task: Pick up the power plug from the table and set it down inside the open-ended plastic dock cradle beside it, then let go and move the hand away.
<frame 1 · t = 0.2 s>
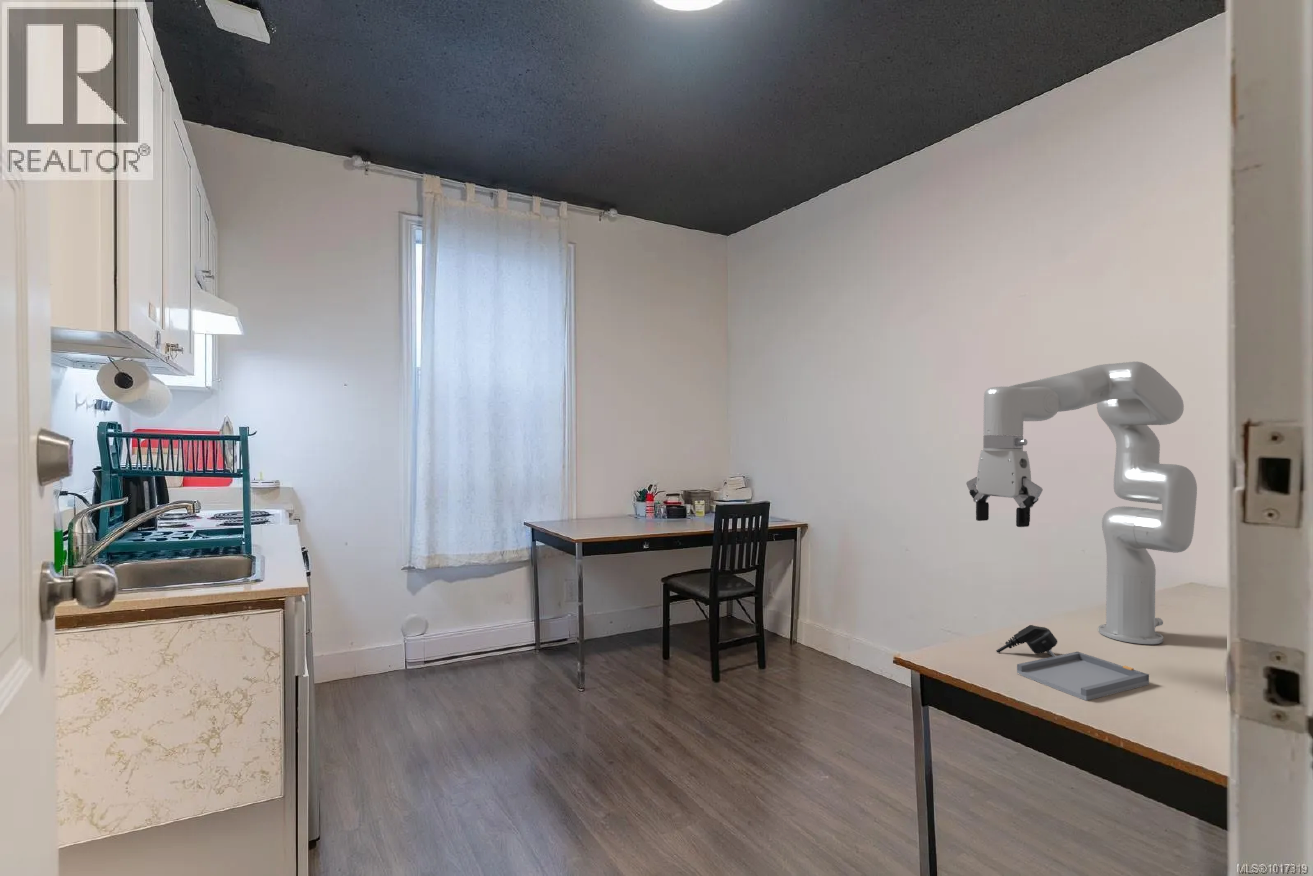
hand: (1001, 523, 135), 30 cm above the table, tool pointing down, fingers open, 9 cm apart
dock: (1081, 679, 126), on the table
power plug: (1025, 655, 140), on the table
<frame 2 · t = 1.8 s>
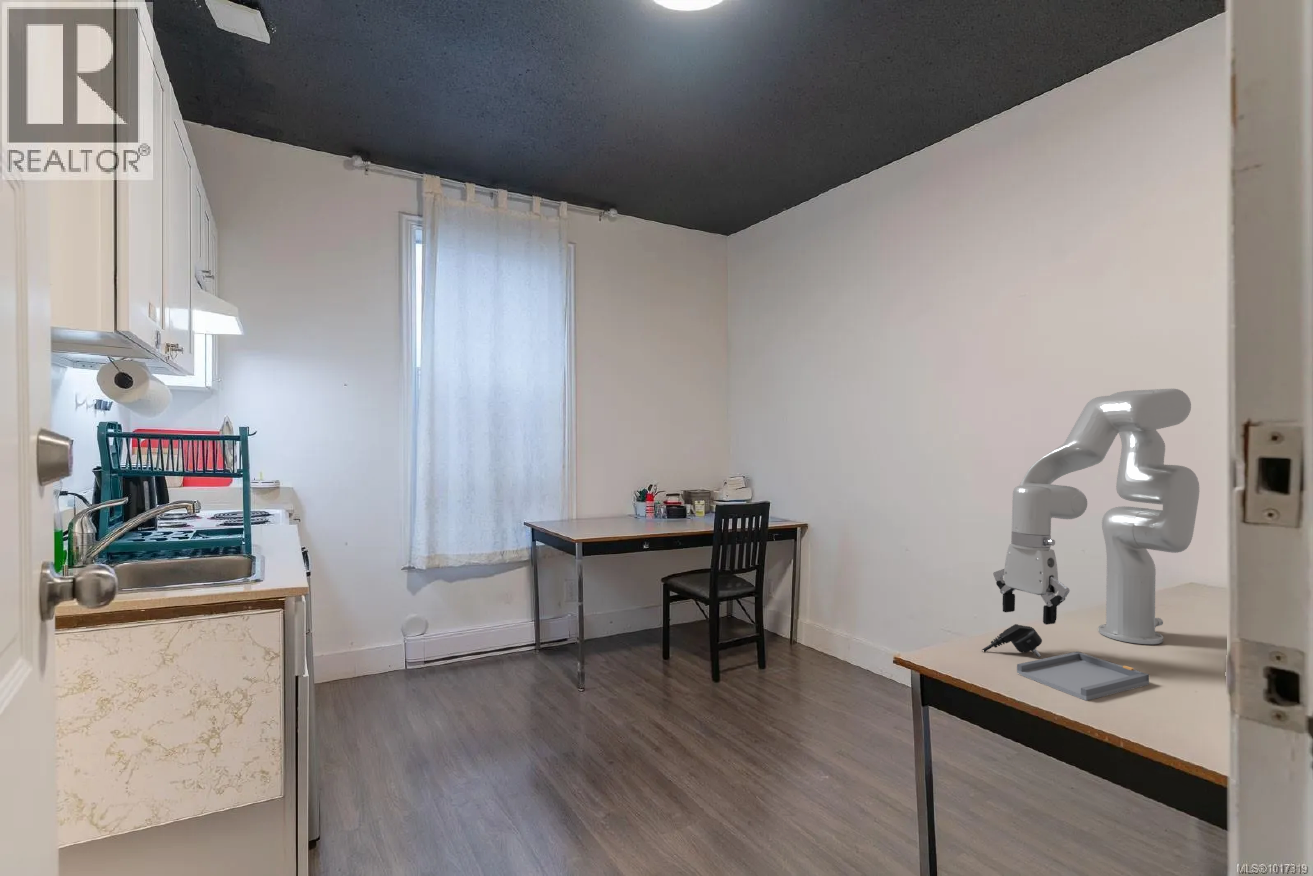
hand: (1028, 617, 140), 8 cm above the table, tool pointing down, fingers open, 9 cm apart
power plug: (1010, 654, 141), on the table
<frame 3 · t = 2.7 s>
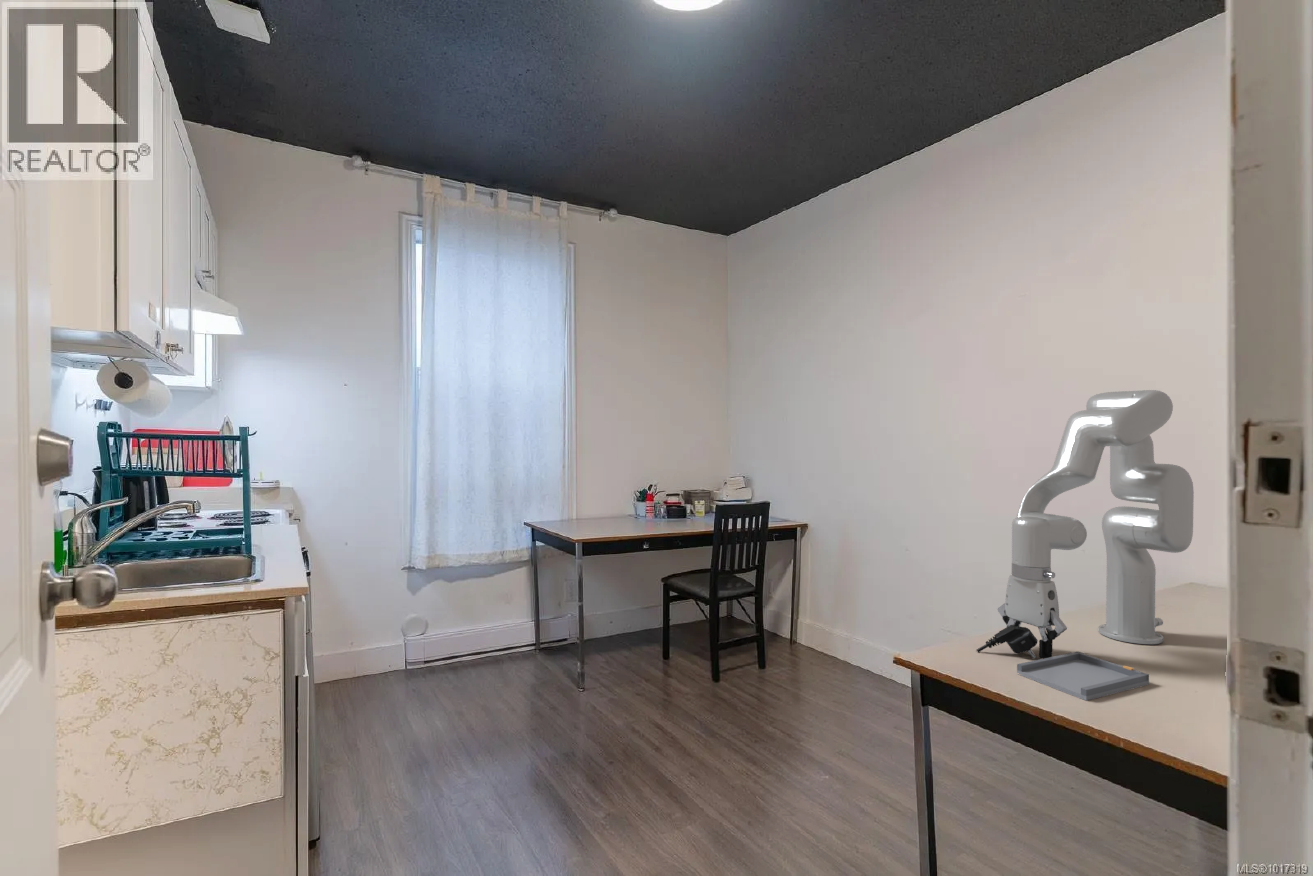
hand: (1030, 651, 140), 1 cm above the table, tool pointing down, fingers open, 6 cm apart
power plug: (1006, 655, 141), on the table, touching gripper
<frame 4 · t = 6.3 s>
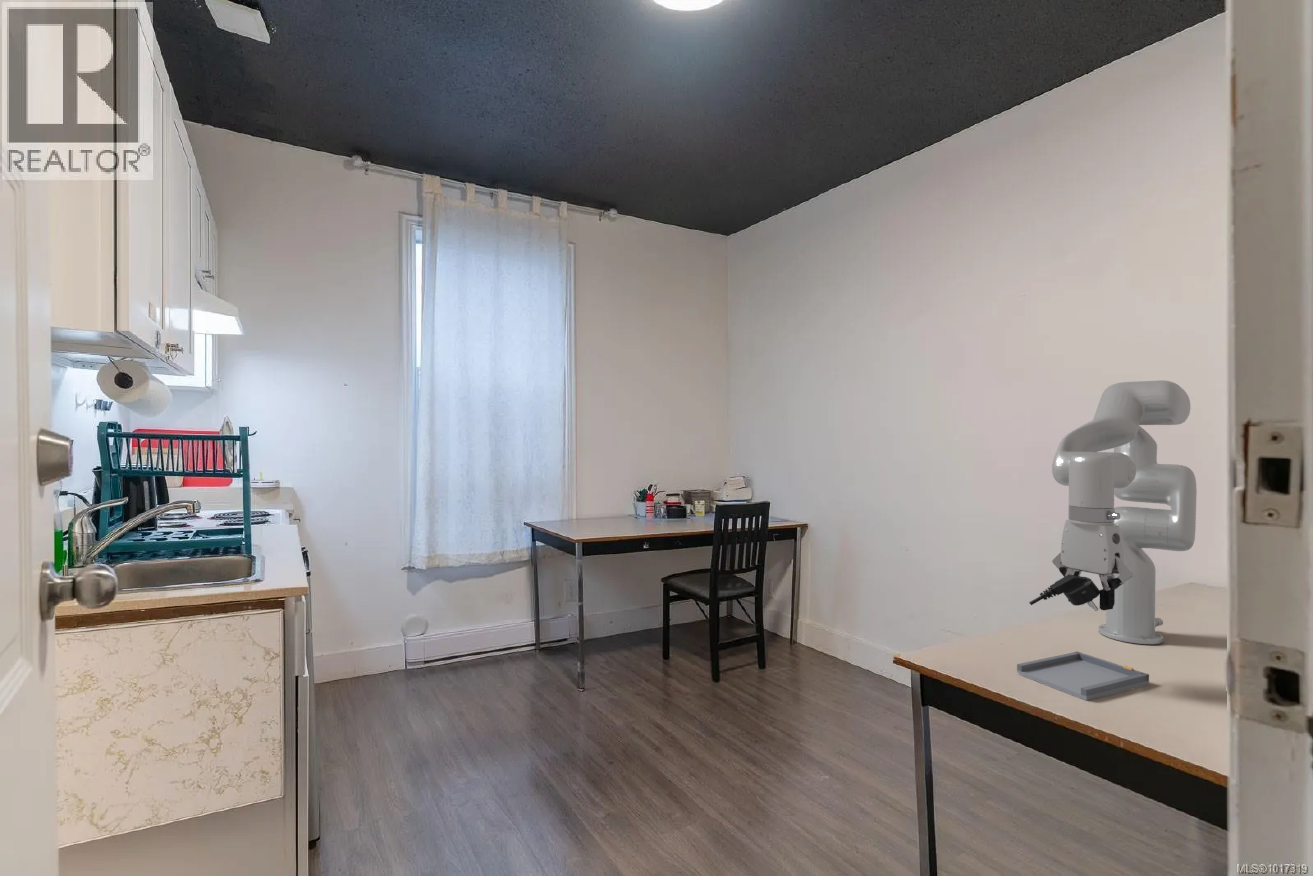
hand: (1090, 604, 126), 15 cm above the table, tool pointing down, fingers closed on power plug, 5 cm apart
power plug: (1063, 608, 126), point 14 cm above the table, touching gripper
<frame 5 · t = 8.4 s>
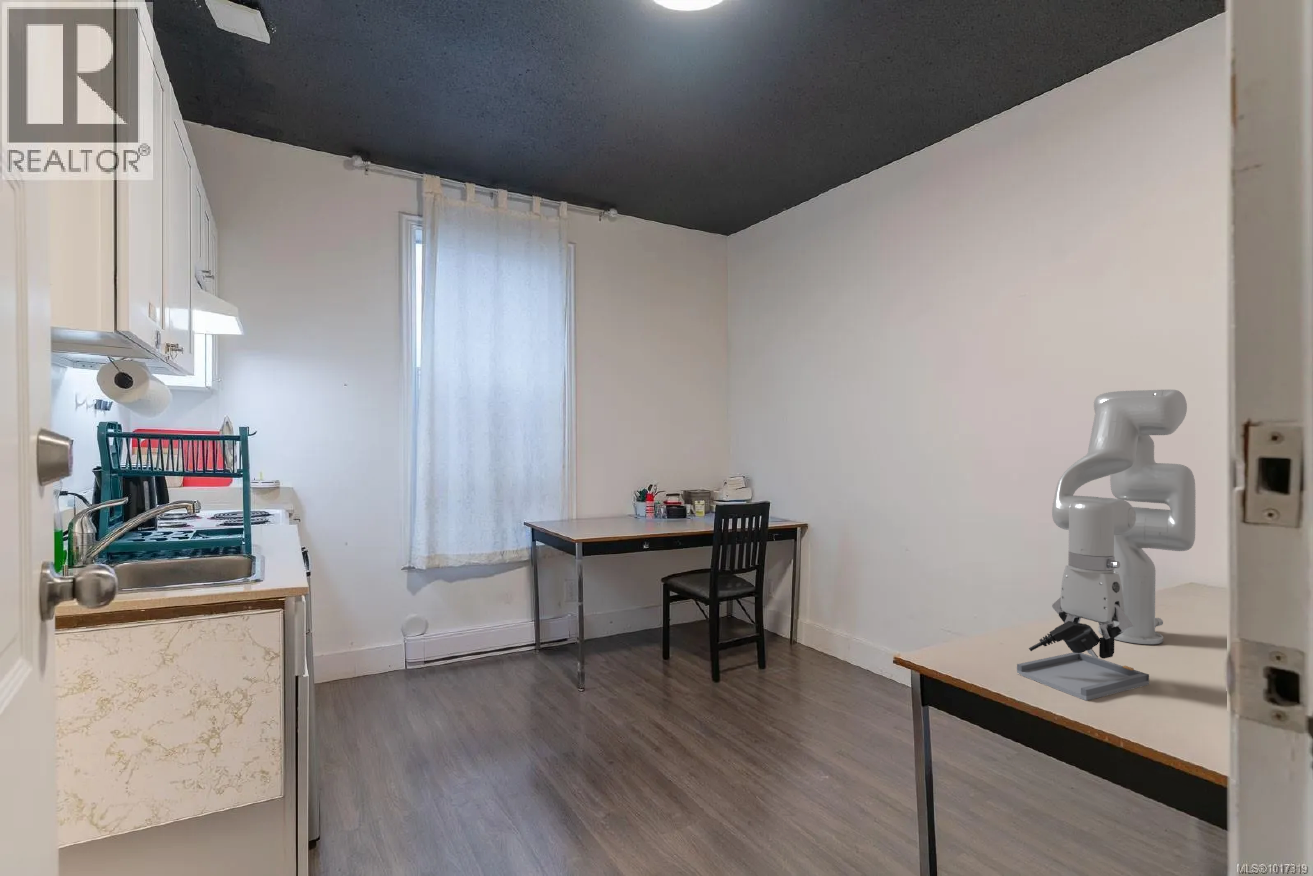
hand: (1089, 651, 126), 6 cm above the table, tool pointing down, fingers closed on power plug, 5 cm apart
power plug: (1063, 655, 126), point 5 cm above the table, touching gripper
when the fingers open (2 cm above the table, at t = 9.9 s): power plug stays where it is, resting on dock.
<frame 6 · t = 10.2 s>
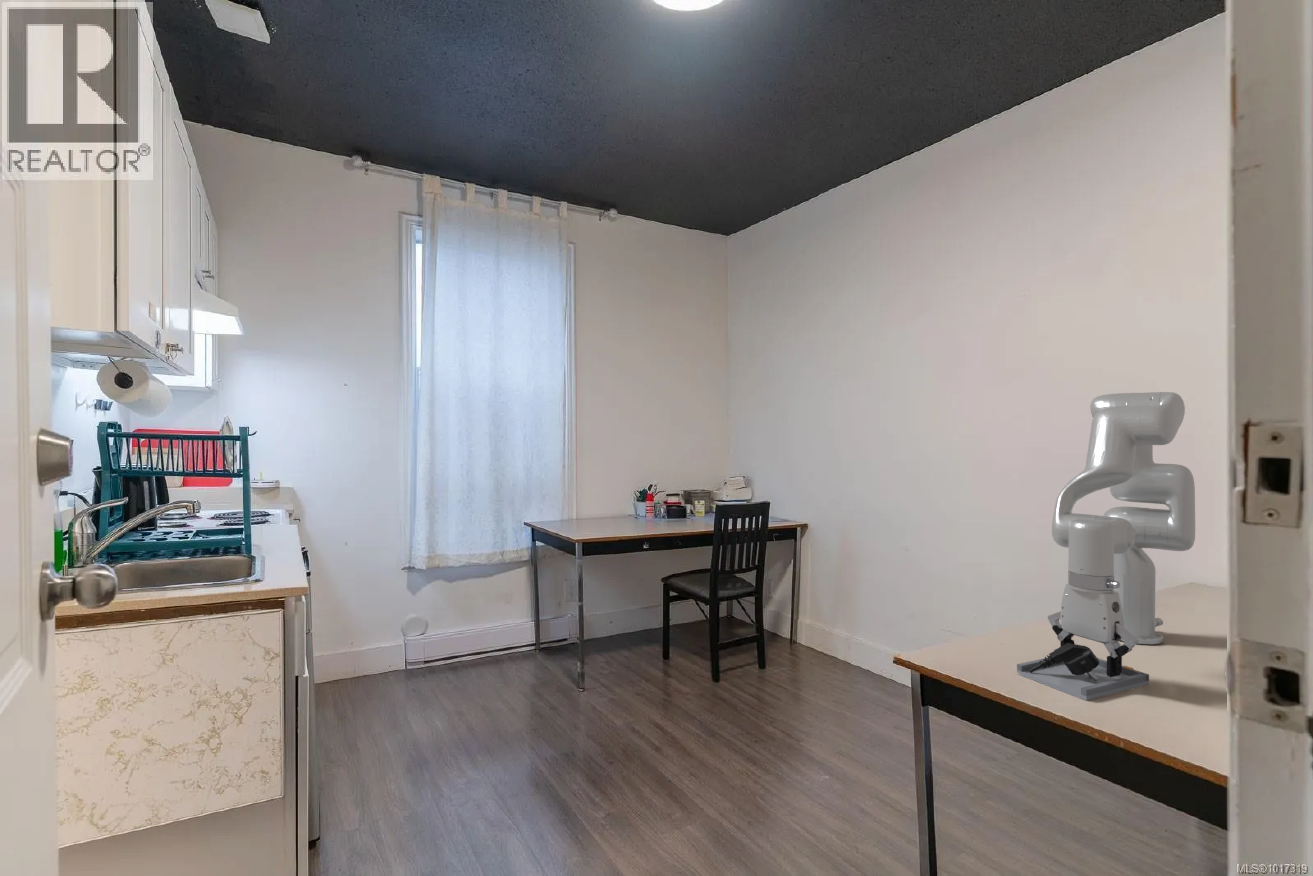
hand: (1089, 667, 126), 3 cm above the table, tool pointing down, fingers open, 8 cm apart
power plug: (1062, 677, 126), point 1 cm above the table, touching dock
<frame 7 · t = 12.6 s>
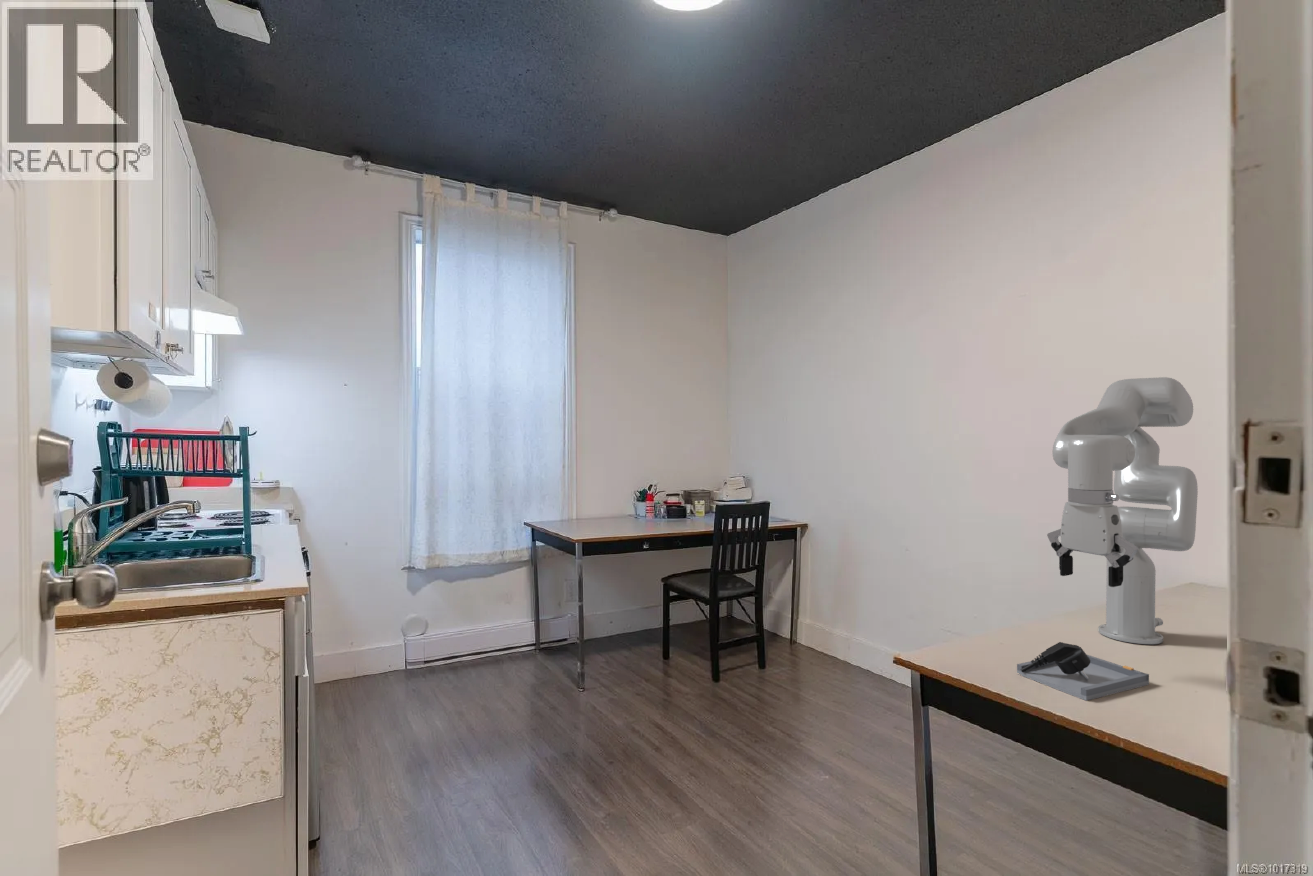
hand: (1090, 580, 128), 19 cm above the table, tool pointing down, fingers open, 9 cm apart
power plug: (1054, 676, 126), point 1 cm above the table, touching dock
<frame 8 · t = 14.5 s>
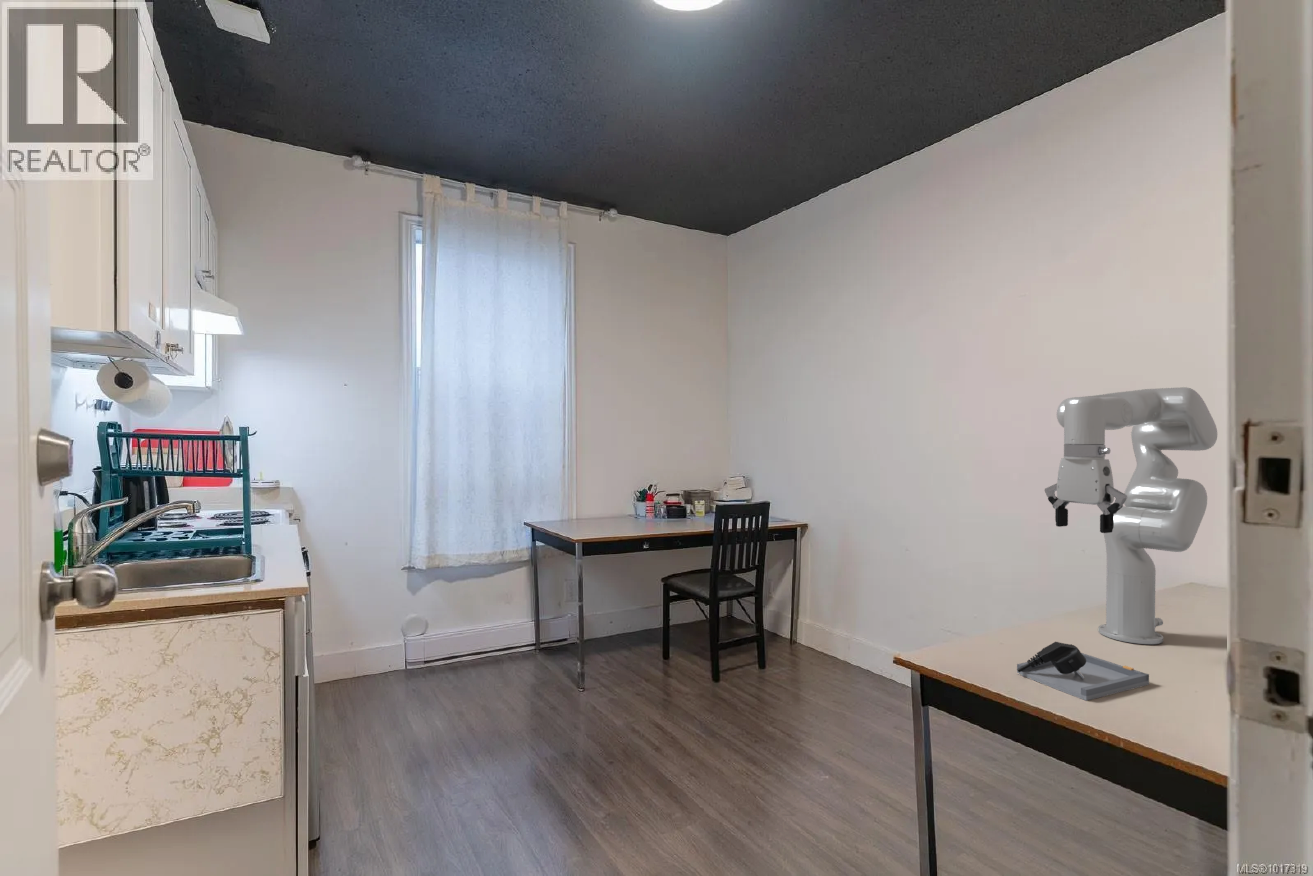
hand: (1083, 529, 139), 28 cm above the table, tool pointing down, fingers open, 9 cm apart
nothing on the table moved.
at the end: power plug inside the target area on the dock (5.6 cm from its centre), point 0.6 cm above the dock's base; power plug tilted 1°; the gripper is holding nothing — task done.
